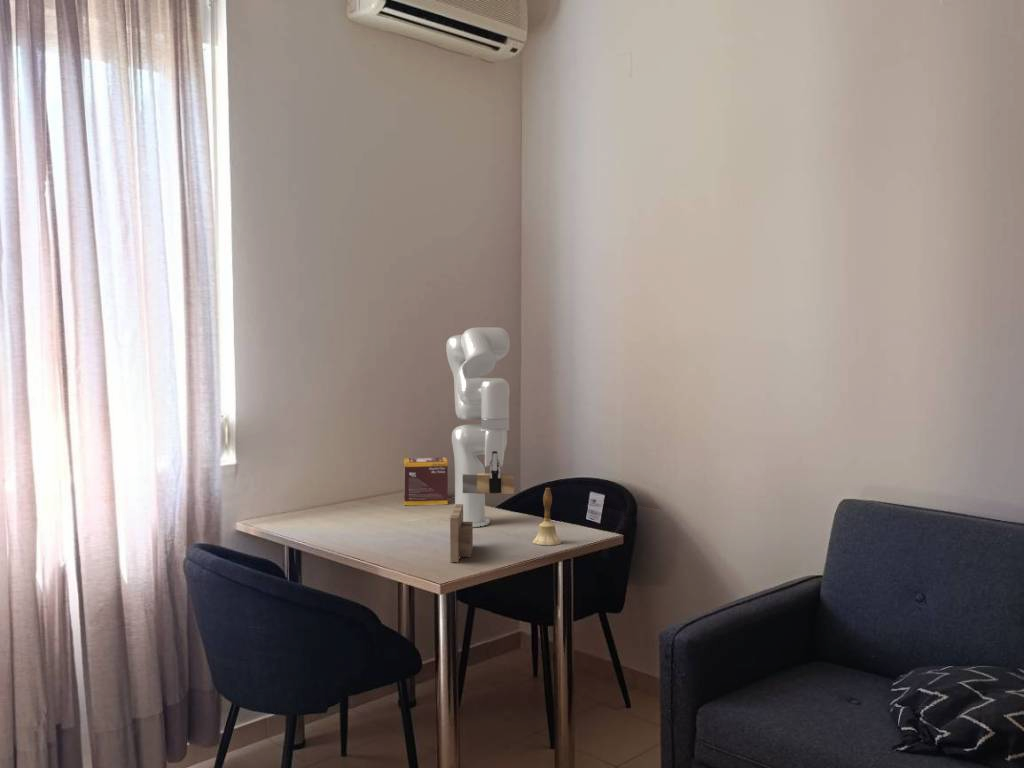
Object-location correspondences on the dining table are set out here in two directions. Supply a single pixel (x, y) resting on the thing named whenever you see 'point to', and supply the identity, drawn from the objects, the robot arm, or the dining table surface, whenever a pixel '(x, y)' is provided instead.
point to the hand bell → (547, 524)
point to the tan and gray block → (487, 483)
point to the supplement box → (425, 481)
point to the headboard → (460, 535)
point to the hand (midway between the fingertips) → (495, 491)
